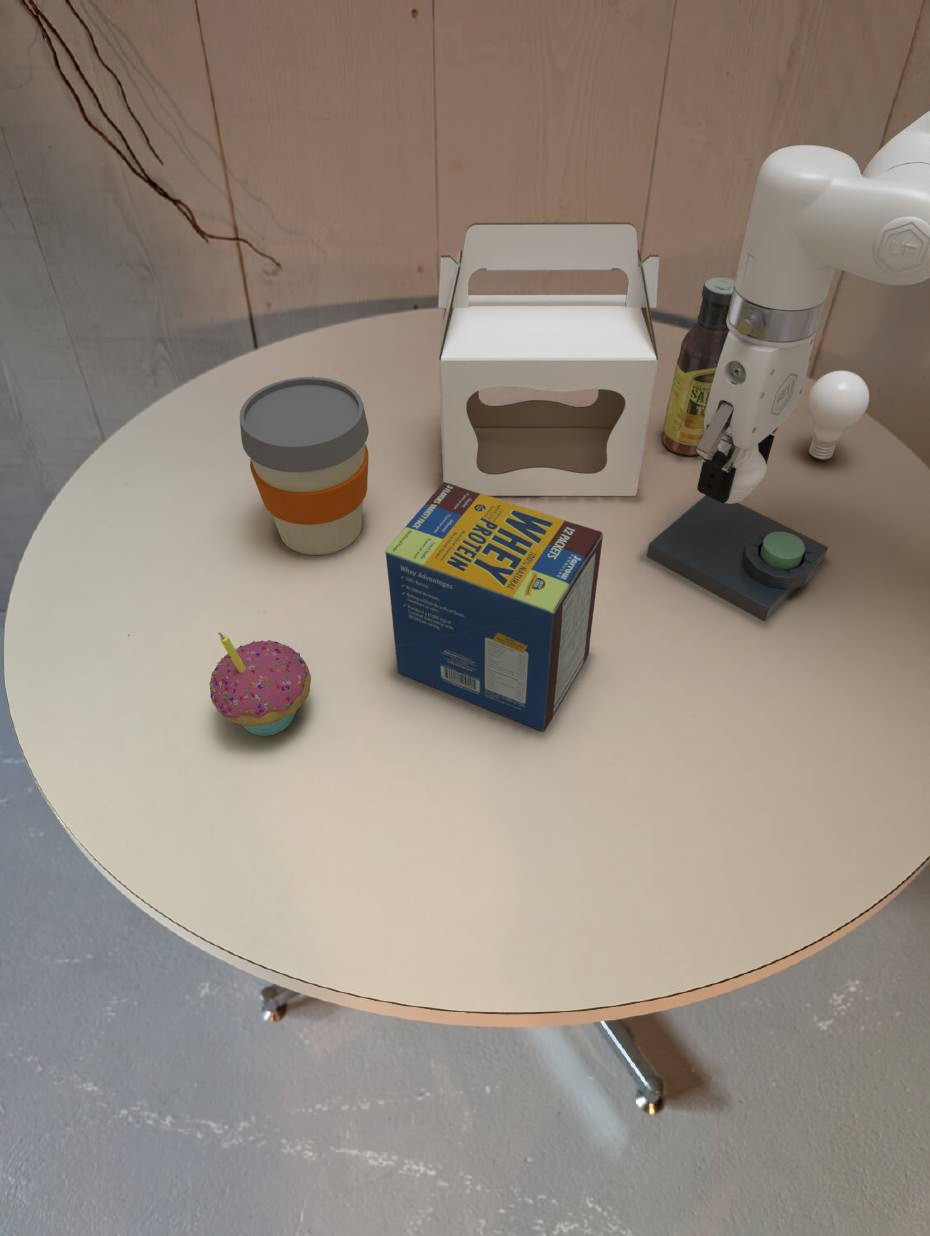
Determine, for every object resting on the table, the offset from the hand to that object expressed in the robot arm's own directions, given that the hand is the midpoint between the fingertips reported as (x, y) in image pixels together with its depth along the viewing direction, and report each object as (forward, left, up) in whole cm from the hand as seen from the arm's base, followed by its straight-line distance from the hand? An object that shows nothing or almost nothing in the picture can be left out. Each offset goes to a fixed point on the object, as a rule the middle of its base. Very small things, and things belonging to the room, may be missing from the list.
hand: (731, 478), depth 90 cm
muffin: (0, 0, -2) cm, 2 cm away
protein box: (+6, +28, -9) cm, 30 cm away
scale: (-3, 0, -9) cm, 10 cm away
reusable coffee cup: (+33, +26, -9) cm, 43 cm away
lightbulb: (-1, -22, -9) cm, 24 cm away
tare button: (-7, 0, -6) cm, 9 cm away
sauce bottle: (+12, -14, -9) cm, 21 cm away
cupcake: (+17, +46, -9) cm, 50 cm away
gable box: (+23, +1, -9) cm, 25 cm away
